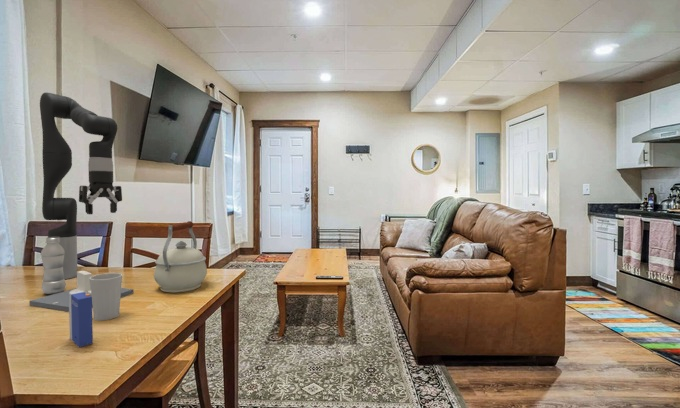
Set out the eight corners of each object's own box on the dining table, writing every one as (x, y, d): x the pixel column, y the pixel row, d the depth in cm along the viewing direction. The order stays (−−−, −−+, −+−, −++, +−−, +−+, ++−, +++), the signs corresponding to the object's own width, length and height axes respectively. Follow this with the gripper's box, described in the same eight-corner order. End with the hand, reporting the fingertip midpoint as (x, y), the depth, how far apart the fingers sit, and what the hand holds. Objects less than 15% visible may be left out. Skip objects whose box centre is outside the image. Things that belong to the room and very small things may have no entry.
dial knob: (65, 295, 113) (65, 273, 112) (93, 289, 119) (93, 268, 119) (79, 302, 106) (78, 279, 105) (107, 296, 112) (107, 274, 112)
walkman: (93, 343, 82) (92, 295, 81) (79, 347, 80) (78, 298, 79) (82, 334, 87) (82, 288, 86) (69, 338, 85) (68, 291, 84)
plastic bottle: (52, 296, 115) (51, 239, 114) (36, 295, 117) (35, 238, 116) (70, 291, 122) (69, 236, 121) (55, 290, 123) (54, 235, 122)
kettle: (190, 297, 117) (189, 226, 116) (139, 295, 118) (139, 225, 117) (219, 278, 142) (219, 219, 141) (178, 276, 143) (177, 219, 142)
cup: (87, 323, 94) (86, 281, 93) (92, 313, 101) (92, 274, 100) (121, 318, 97) (120, 278, 97) (124, 309, 104) (123, 271, 104)
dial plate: (29, 305, 107) (29, 300, 107) (91, 287, 126) (91, 283, 126) (75, 312, 101) (75, 307, 101) (133, 293, 120) (133, 288, 120)
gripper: (113, 171, 133) (113, 212, 134) (73, 169, 120) (74, 214, 121) (126, 171, 130) (126, 212, 131) (87, 169, 117) (88, 215, 118)
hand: (101, 213), depth 126 cm, fingers open, 8 cm apart
